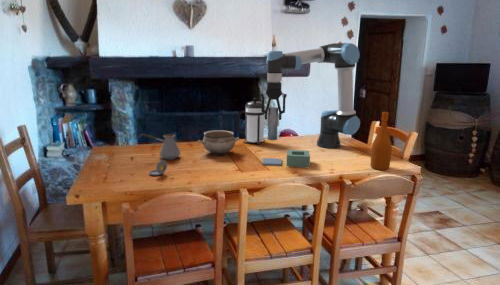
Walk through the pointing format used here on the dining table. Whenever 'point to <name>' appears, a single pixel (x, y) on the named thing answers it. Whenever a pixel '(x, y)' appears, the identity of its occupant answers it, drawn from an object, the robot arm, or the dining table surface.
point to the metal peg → (272, 123)
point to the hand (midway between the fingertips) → (272, 125)
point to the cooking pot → (218, 141)
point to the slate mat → (271, 161)
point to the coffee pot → (167, 146)
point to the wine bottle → (381, 147)
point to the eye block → (298, 158)
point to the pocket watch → (159, 167)
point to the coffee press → (253, 122)
